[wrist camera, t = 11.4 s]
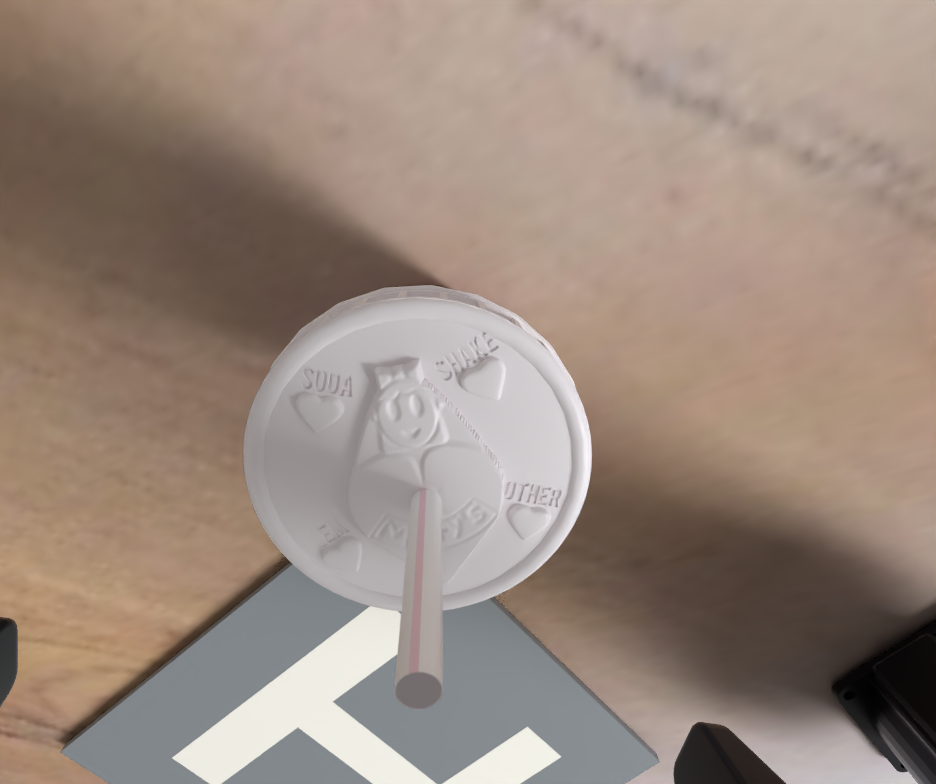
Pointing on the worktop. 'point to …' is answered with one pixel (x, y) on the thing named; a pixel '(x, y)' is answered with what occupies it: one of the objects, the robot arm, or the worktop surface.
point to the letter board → (357, 704)
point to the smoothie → (417, 459)
